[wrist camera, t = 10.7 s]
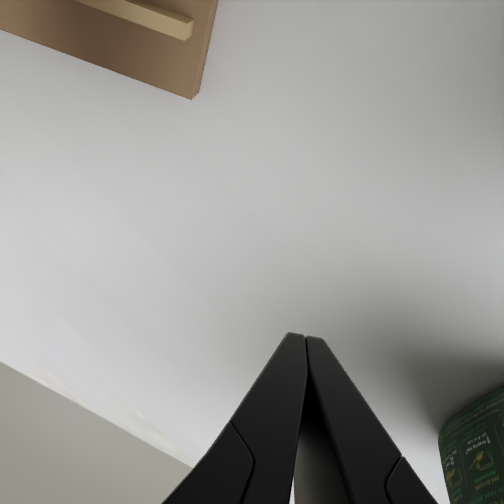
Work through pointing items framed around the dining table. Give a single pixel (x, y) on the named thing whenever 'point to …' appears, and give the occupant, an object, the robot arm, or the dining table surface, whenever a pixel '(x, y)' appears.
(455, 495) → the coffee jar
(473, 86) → the dining table surface
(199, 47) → the trammel board
